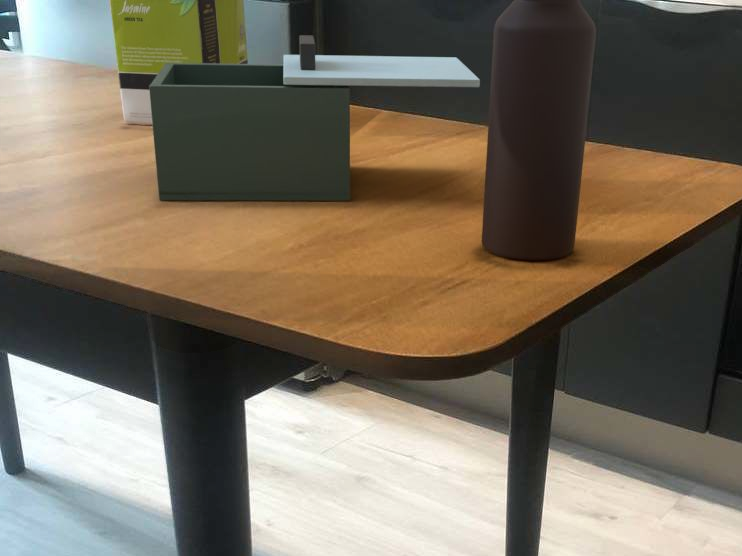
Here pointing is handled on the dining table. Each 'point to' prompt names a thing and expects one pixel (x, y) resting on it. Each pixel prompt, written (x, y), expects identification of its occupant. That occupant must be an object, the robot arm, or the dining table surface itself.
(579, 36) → the bottle
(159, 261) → the dining table surface
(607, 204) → the dining table surface
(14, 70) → the dining table surface
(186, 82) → the open storage box
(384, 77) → the sliding lid with knob
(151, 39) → the tea box
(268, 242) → the dining table surface
